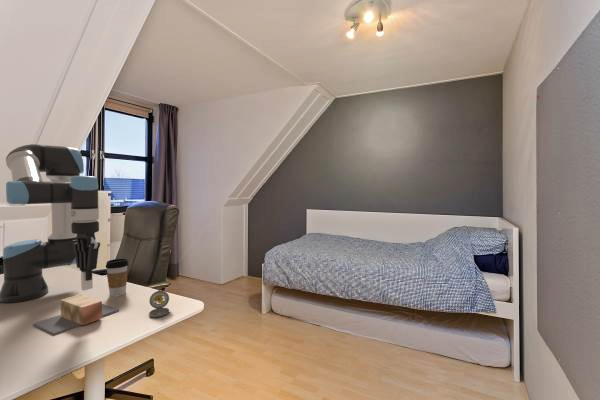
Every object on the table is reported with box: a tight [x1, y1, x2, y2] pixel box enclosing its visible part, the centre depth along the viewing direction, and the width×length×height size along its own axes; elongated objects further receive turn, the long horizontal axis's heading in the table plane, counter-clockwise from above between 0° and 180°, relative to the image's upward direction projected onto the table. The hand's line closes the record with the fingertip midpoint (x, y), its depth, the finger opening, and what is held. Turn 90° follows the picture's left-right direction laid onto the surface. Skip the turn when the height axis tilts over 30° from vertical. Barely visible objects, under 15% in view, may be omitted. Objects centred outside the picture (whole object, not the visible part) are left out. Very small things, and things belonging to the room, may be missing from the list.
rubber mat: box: [32, 303, 120, 336], centre depth 100 cm, size 14×20×1 cm
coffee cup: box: [105, 258, 130, 297], centre depth 123 cm, size 8×8×15 cm
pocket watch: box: [148, 283, 170, 318], centre depth 105 cm, size 8×8×10 cm
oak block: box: [60, 294, 103, 326], centre depth 99 cm, size 6×6×14 cm
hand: (87, 289), depth 97 cm, fingers closed
